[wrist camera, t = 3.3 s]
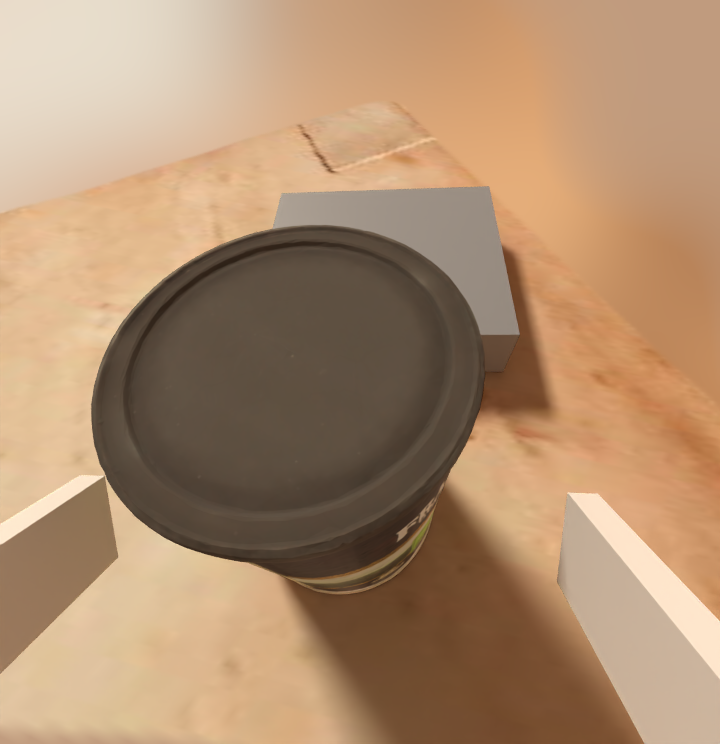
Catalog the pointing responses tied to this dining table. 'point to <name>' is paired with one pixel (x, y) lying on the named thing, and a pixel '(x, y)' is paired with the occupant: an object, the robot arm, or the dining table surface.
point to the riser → (430, 244)
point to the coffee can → (293, 403)
